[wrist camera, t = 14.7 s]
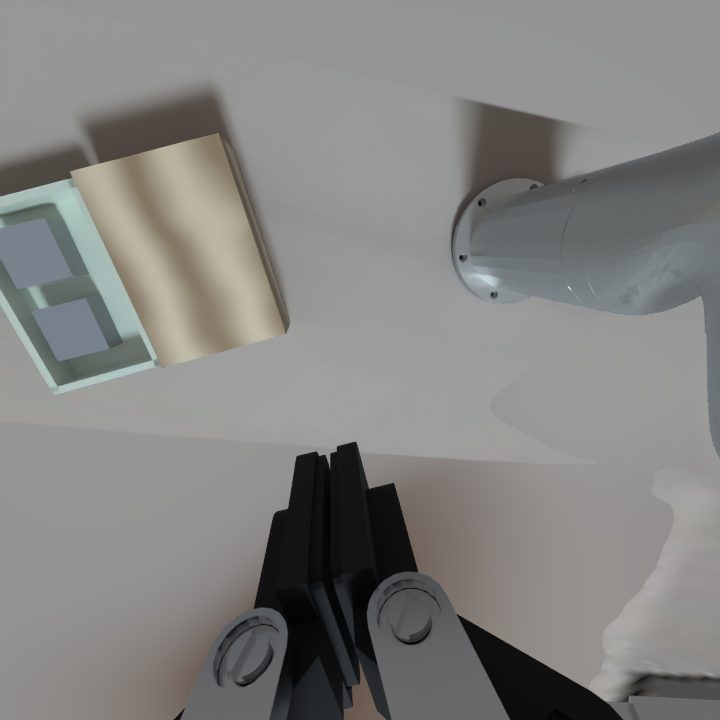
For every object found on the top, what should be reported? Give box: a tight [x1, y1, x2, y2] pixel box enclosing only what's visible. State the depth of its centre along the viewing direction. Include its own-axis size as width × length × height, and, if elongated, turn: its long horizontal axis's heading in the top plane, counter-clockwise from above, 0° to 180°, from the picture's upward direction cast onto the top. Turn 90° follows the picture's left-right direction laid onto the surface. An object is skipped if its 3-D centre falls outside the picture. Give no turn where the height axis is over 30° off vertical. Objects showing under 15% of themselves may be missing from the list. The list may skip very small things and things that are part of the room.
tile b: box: [0, 218, 89, 289], centre depth 32 cm, size 5×5×2 cm
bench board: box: [70, 133, 290, 368], centre depth 33 cm, size 12×17×5 cm
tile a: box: [31, 295, 123, 362], centre depth 34 cm, size 5×5×2 cm
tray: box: [0, 178, 161, 395], centre depth 33 cm, size 11×17×4 cm, turn 15°
